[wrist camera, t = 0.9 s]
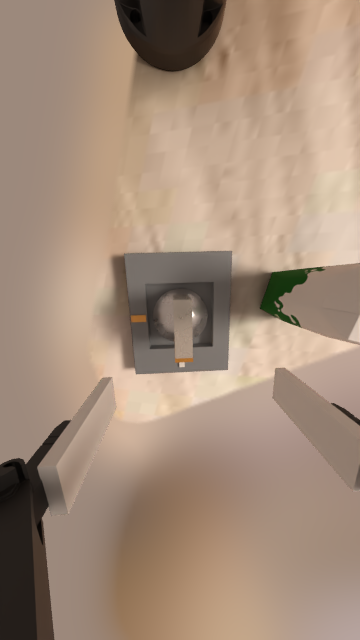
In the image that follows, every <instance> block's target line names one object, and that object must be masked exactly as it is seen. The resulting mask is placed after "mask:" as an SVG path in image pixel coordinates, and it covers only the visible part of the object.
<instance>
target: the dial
mask: <svg viewBox="0 0 360 640" xmlns="http://www.w3.org/2000/svg"><path fill="white" fill-rule="evenodd" d="M207 317H208V314H207V308H206V305H205V303H204V301H203V300H202V299H201V297H200V296H199V295H197V294H196V293H194V292H193V291H190V290H188V289H182V288H178V289H173V290H170V291H168V292H166V293H165V294H163V295H162V296H161V297H160V298H159V300H158V301H157V303H156V305H155V307H154V311H153V321H154V324H155V327H156V329H157V330H158V332H159V333H160V334H161V335H162V336H163V337H165V338H166V339H168V340H170V341H174V342H175V363H179V362H193V339H194V338H196V337H197V336H198V335H199V334H200V333H201V332H202V331H203V329H204V328H205V326H206V323H207Z"/></svg>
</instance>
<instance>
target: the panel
mask: <svg viewBox="0 0 360 640" xmlns="http://www.w3.org/2000/svg"><path fill="white" fill-rule="evenodd" d="M124 258H125V268H126V278H127V289H128V299H129V309H130V320H131V330H132V340H133V351H134V361H135V371H136V374H152V373H173V372H194V371H215V370H228V351H229V323H230V295H231V267H232V251H210V252H170V253H131V254H124ZM178 288H182V289H188V290H190V291H193V292H194V293H196V294H197V295H199V296H200V297H201V299H202V300H203V301H204V303H205V305H206V308H207V314H208V317H207V323H206V326H205V328H204V329H203V331H202V332H201V333H200V334H199V335H198V336H197V337H196V338H194V339H193V362H179V363H175V342H174V341H170V340H168V339H166V338H165V337H163V336H162V335H161V334H160V333H159V332H158V330H157V329H156V327H155V324H154V321H153V311H154V307H155V305H156V303H157V301H158V300H159V298H160V297H161V296H162V295H163V294H165V293H166V292H168V291H170V290H173V289H178Z"/></svg>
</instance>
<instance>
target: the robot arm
mask: <svg viewBox="0 0 360 640" xmlns="http://www.w3.org/2000/svg"><path fill="white" fill-rule="evenodd" d="M114 1H115V5H116V10H117V15H118V18H119V22H120V24H121V27H122V30H123V32H124V34H125V36H126V38H127V40H128V41H129V43H130V44H131V46H132V47H133V49H134V50H135V51H136V52H137V53H138V54H139V55H140V56H141V57H142V58H143V59H144V60H146V61H147V62H148V63H150V64H152V65H153V66H156V67H158V68H161V69H165V70H181V69H185V68H188V67H190V66H192V65H194V64H195V63H197V62H198V61H200V60H201V59H202V58H203V57H204V56H205V55H206V54H207V53H208V51H209V50H210V49H211V47H212V46H213V44H214V42H215V40H216V38H217V36H218V34H219V31H220V28H221V25H222V21H223V16H224V11H225V5H226V0H114ZM273 399H274V400H275V401H276V402H277V404H278V405H279V406H280V407H281V408H282V409H283V411H284V412H285V413H286V414H287V415H288V416H289V418H290V419H291V420H292V421H293V422H294V423H295V425H296V426H297V427H298V428H299V429H300V431H301V432H302V433H303V434H304V435H305V436H306V438H307V439H308V440H309V441H310V442H311V443H312V445H313V446H314V447H315V448H316V449H317V450H318V451H319V453H320V454H321V455H322V456H323V457H324V458H325V460H326V461H327V462H328V463H329V464H330V466H331V467H332V468H333V469H334V470H335V471H336V473H337V474H338V475H339V476H340V477H341V478H342V480H343V481H344V482H345V483H346V484H347V485H348V486H349V488H350V489H351V490H352V491H353V492H355V491H360V420H359V419H358V418H356V417H354V415H352V414H351V413H350V412H348V411H347V410H346V409H344V408H342V407H340V406H338V405H336V404H334V403H329V402H328V401H327V400H326V399H324V398H323V397H322V396H320V395H319V394H318V393H316V392H315V391H314V390H313V389H311V388H310V387H309V386H307V385H306V384H305V383H304V382H302V381H301V380H300V379H298V378H297V377H296V376H295V375H293V374H292V373H291V372H289V371H288V370H287V369H286V368H275V377H274V388H273ZM115 409H116V401H115V394H114V387H113V379H112V377H108V378H102V379H101V380H100V382H99V383H98V385H97V386H96V387H95V389H94V390H93V391H92V393H91V394H90V396H89V397H88V398H87V400H86V401H85V402H84V404H83V405H82V406H81V408H80V409H79V411H78V412H77V413H76V415H75V416H74V417H73V419H72V420H70V421H63V422H62V423H61V424H60V425H59V426H57V427H56V428H55V429H54V430H53V431H52V433H51V434H50V435H49V436H48V438H47V439H46V440H45V441H44V443H43V444H42V446H40V448H39V449H38V450H37V451H36V452H35V454H34V455H33V456H32V457H31V459H30V460H29V461H28V463H27V464H26V465H25V462H24V460H23V459H20V458H18V459H12V460H9V461H7V462H4V463H2V464H1V465H0V640H54V632H53V622H52V611H51V601H50V590H49V580H48V570H47V559H46V548H45V538H44V528H43V521H42V517H43V515H44V513H45V511H46V509H47V508H48V507H49V511H50V514H51V516H52V515H65V514H69V512H70V510H71V507H72V505H73V503H74V500H75V499H76V496H77V494H78V492H79V490H80V487H81V485H82V483H83V481H84V478H85V476H86V474H87V472H88V470H89V467H90V465H91V463H92V461H93V458H94V456H95V454H96V451H97V450H98V447H99V445H100V443H101V441H102V438H103V436H104V434H105V431H106V429H107V427H108V425H109V423H110V420H111V418H112V416H113V414H114V412H115Z"/></svg>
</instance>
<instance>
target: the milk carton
mask: <svg viewBox="0 0 360 640" xmlns="http://www.w3.org/2000/svg"><path fill="white" fill-rule="evenodd" d="M260 309H262V310H264V311H266V312H268V313H269V314H271V315H273V316H275V317H277V318H279V319H280V320H283V321H285V322H287V323H290V324H293V325H296V326H298V327H301V328H304V329H307V330H309V331H312V332H315V333H318V334H320V335H323V336H326V337H330V338H334V339H338V340H342V341H346V342H350V343H354V344H359V345H360V263H357V264H347V265H336V266H326V267H316V268H306V269H296V270H288V271H280V272H272V275H271V278H270V281H269V284H268V286H267V289H266V292H265V295H264V298H263V301H262V304H261V306H260Z"/></svg>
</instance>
